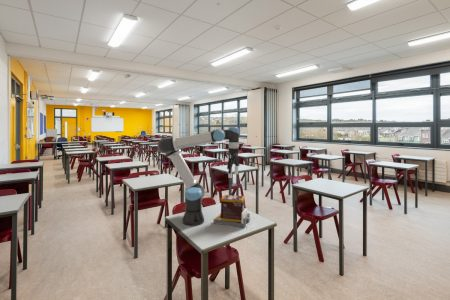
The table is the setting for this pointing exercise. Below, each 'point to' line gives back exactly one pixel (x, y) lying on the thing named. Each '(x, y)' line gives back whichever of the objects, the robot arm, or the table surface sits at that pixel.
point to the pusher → (244, 215)
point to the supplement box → (232, 208)
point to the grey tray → (231, 223)
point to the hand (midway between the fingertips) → (233, 176)
